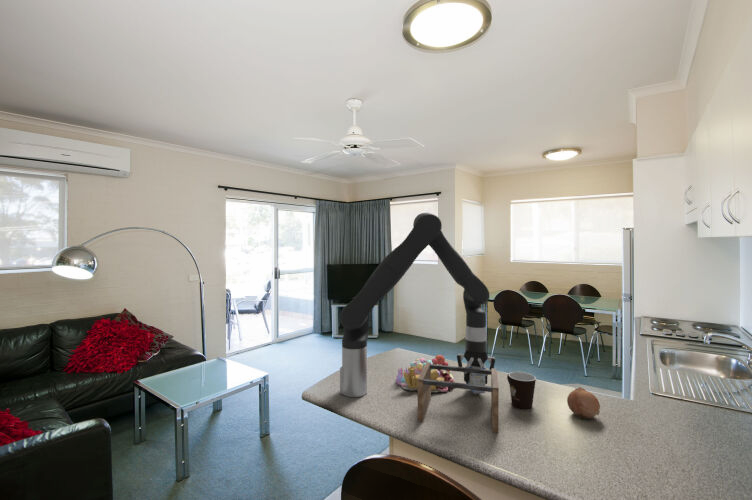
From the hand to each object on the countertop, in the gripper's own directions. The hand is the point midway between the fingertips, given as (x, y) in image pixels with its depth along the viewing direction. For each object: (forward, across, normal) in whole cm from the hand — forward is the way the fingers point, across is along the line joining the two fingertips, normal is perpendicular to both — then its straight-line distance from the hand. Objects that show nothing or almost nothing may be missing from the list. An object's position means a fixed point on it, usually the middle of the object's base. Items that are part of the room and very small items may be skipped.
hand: (475, 383), depth 130 cm
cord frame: (+3, -5, -19) cm, 20 cm away
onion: (+4, +33, -9) cm, 34 cm away
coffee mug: (+4, +15, -5) cm, 16 cm away
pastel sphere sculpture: (+4, -19, +6) cm, 21 cm away
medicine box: (+2, 0, 0) cm, 2 cm away
